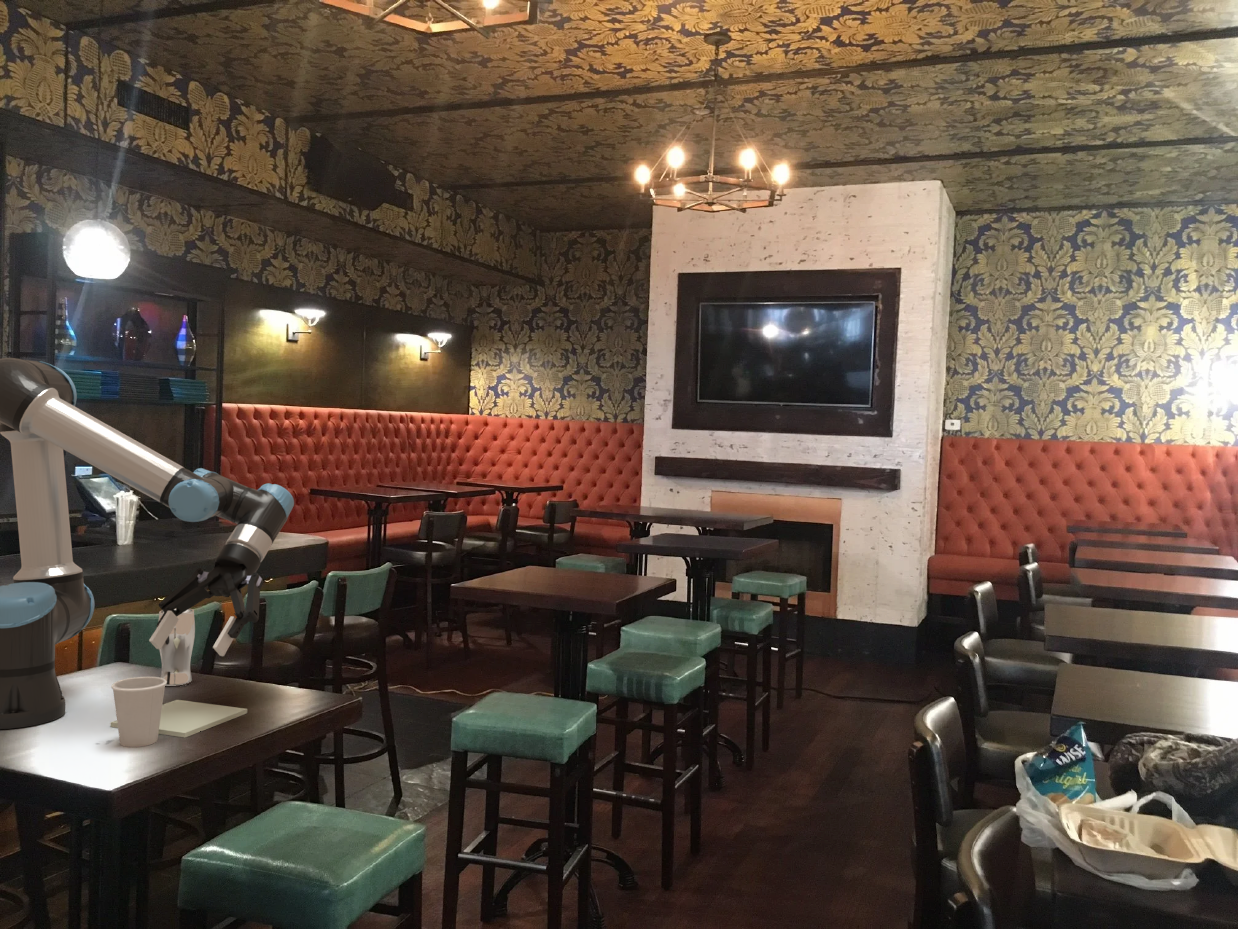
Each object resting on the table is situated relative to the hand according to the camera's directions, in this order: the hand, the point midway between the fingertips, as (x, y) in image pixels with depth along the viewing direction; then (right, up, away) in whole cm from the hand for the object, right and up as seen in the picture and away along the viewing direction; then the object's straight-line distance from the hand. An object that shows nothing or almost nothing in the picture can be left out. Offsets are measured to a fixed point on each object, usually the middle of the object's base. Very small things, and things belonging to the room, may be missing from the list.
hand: (185, 648), depth 175 cm
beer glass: (-15, -13, +29) cm, 35 cm away
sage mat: (-3, -14, +4) cm, 15 cm away
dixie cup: (-4, -14, -9) cm, 17 cm away
